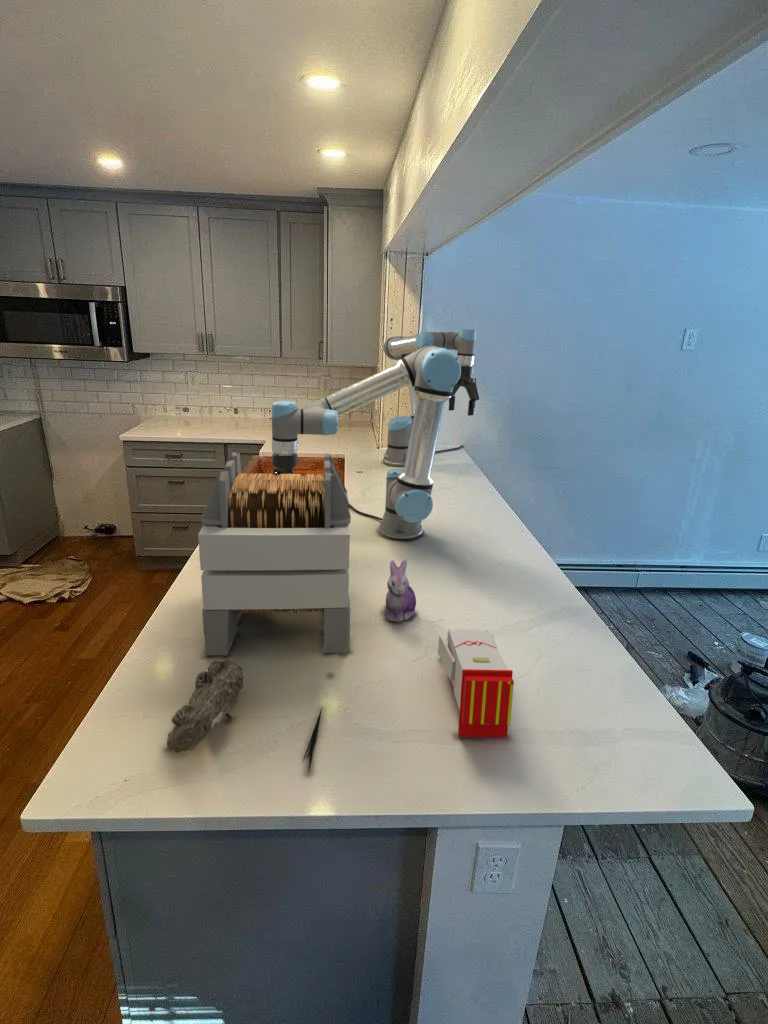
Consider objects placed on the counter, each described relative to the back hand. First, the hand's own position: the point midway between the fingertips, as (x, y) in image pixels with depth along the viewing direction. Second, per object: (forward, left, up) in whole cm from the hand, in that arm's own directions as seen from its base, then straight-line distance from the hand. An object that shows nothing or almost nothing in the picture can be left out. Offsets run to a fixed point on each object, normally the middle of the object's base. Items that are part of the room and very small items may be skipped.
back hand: (460, 412), depth 260 cm
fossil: (+184, -5, -31) cm, 187 cm away
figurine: (+133, +16, -31) cm, 138 cm away
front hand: (+110, -31, -22) cm, 116 cm away
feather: (+177, +14, -31) cm, 180 cm away
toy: (+158, +39, -31) cm, 165 cm away
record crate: (+147, -11, -31) cm, 151 cm away
